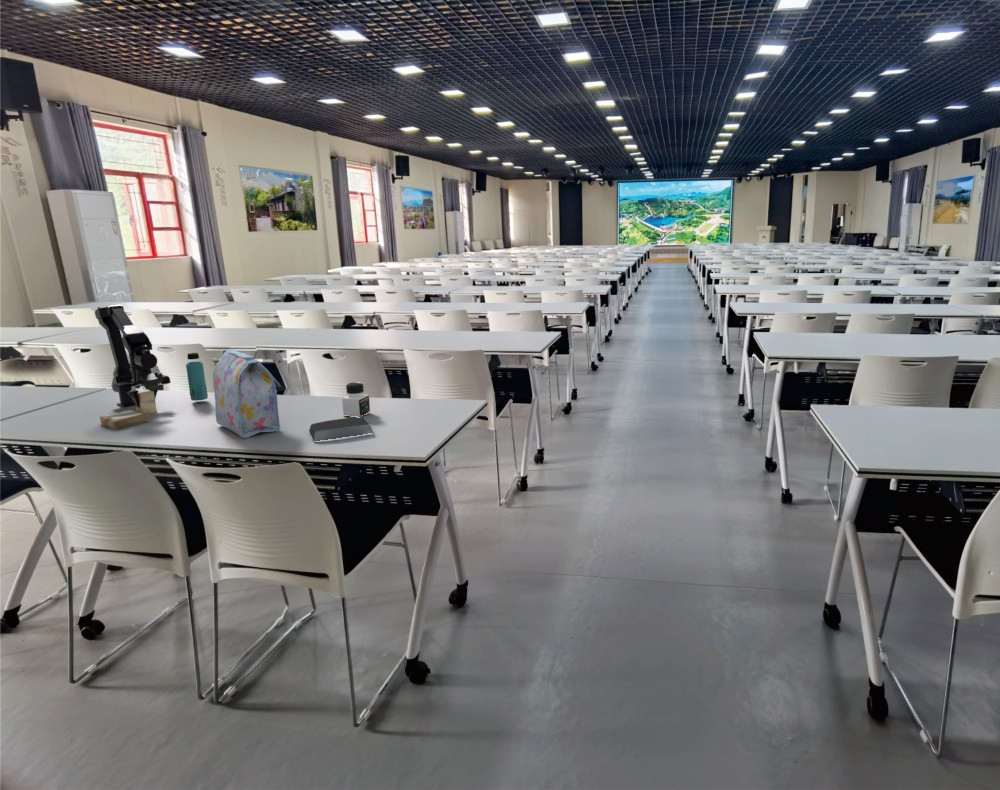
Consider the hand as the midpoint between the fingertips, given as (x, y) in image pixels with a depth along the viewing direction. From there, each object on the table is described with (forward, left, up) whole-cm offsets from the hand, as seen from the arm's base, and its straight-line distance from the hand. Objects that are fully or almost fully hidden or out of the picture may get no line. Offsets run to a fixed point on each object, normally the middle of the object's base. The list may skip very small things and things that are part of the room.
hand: (145, 405), depth 247 cm
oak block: (0, 0, -3) cm, 3 cm away
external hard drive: (+85, +21, -3) cm, 87 cm away
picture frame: (+8, -12, -2) cm, 15 cm away
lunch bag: (+53, +9, -3) cm, 54 cm away
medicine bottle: (+72, +40, -3) cm, 82 cm away
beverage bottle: (+4, +19, -3) cm, 20 cm away
